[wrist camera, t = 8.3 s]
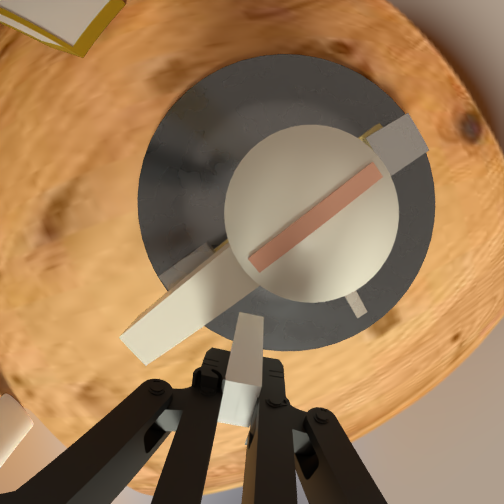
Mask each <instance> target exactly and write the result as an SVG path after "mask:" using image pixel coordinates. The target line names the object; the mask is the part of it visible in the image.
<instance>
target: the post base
mask: <svg viewBox="0 0 504 504" xmlns="http://www.w3.org/2000/svg"><path fill="white" fill-rule="evenodd" d="M379 123H380V124H381V125H382V128H381V129H379V130H377V131H376V132H374V133H372V134H371V135H369V136H367V137H366V138H364V139H363V142H364V143H365V144H366V145H368V146H369V147H370V148H371V149H372V150H373V151H374V152H375V153H376V154H377V155H378V157H379V158H380V159H381V160H382V162H383V163H384V165H385V166H386V168H387V170H388V172H389V173H390V176H391V178H392V180H393V183H394V186H395V189H396V193H397V198H398V205H399V222H398V230H397V234H396V238H395V242H394V244H393V247H392V250H391V252H390V254H389V256H388V258H387V260H386V261H385V262H384V264H383V265H382V267H381V268H380V270H379V271H378V272H377V273H376V274H375V275H374V276H373V277H372V278H371V279H370V280H369V281H368V282H367V283H366V284H364V285H363V286H362V287H360V288H359V289H357V290H356V291H354V292H352V293H350V294H348V295H346V296H343V297H340V298H338V299H334V300H330V301H326V302H316V303H309V302H298V301H292V300H289V299H285V298H282V297H280V296H277V295H275V294H273V293H271V292H269V291H268V290H266V289H264V288H263V287H261V286H259V287H257V288H256V289H255V290H253V291H252V292H250V293H249V294H248V295H246V296H245V297H244V298H242V299H241V300H240V301H238V302H237V303H235V304H234V305H233V306H231V307H230V308H228V309H227V310H226V311H224V312H223V313H221V314H220V315H219V316H217V317H216V318H214V319H213V320H212V321H210V322H209V323H207V324H206V325H204V326H205V327H207V328H208V329H210V330H212V331H213V332H215V333H217V334H219V335H221V336H223V337H225V338H227V339H230V340H232V341H233V339H234V334H235V330H236V325H237V321H238V316H239V312H242V313H247V314H252V315H257V316H262V317H264V324H263V349H265V350H274V351H302V350H309V349H316V348H321V347H324V346H328V345H332V344H335V343H338V342H340V341H343V340H345V339H347V338H350V337H352V336H354V335H356V334H358V333H360V332H361V331H363V330H365V329H366V328H368V327H370V326H371V325H372V324H374V323H375V322H376V321H378V320H379V319H380V318H382V317H383V316H384V315H385V314H386V313H387V312H388V311H389V310H390V309H391V308H393V307H394V306H395V305H396V304H397V302H398V301H399V300H400V299H401V298H402V296H403V295H404V294H405V293H406V291H407V290H408V289H409V287H410V285H411V284H412V282H413V281H414V279H415V277H416V276H417V274H418V272H419V270H420V268H421V266H422V263H423V261H424V259H425V257H426V254H427V250H428V247H429V244H430V241H431V236H432V231H433V225H434V217H435V192H434V182H433V177H432V172H431V167H430V163H429V160H428V157H427V154H426V152H427V151H429V149H428V147H427V145H426V143H425V141H424V139H423V138H422V136H421V134H420V132H419V131H418V129H417V127H416V125H415V124H414V122H413V120H412V119H411V117H410V115H409V114H408V113H407V114H405V113H404V112H403V111H402V110H401V109H400V107H399V106H398V105H397V104H396V103H395V102H394V101H393V100H392V98H391V97H389V96H388V95H387V94H386V93H385V92H384V91H383V90H382V89H380V88H379V87H378V86H377V85H376V84H374V83H373V82H371V81H370V80H368V79H367V78H365V77H364V76H362V75H360V74H359V73H357V72H355V71H353V70H351V69H349V68H346V67H344V66H342V65H340V64H337V63H334V62H331V61H328V60H324V59H321V58H316V57H310V56H304V55H291V54H277V55H267V56H259V57H255V58H250V59H246V60H242V61H239V62H237V63H234V64H231V65H229V66H226V67H224V68H221V69H220V70H218V71H216V72H214V73H212V74H211V75H209V76H207V77H205V78H204V79H202V80H201V81H200V82H198V83H197V84H196V85H194V86H193V87H192V88H191V89H189V90H188V91H187V92H186V93H185V94H184V95H183V96H182V97H181V98H180V99H179V100H178V101H177V102H176V103H175V104H174V105H173V106H172V108H171V109H170V110H169V112H168V113H167V114H166V116H165V117H164V118H163V120H162V121H161V123H160V124H159V126H158V128H157V130H156V132H155V133H154V135H153V137H152V139H151V141H150V144H149V146H148V149H147V152H146V154H145V157H144V160H143V165H142V169H141V173H140V178H139V188H138V217H139V224H140V229H141V235H142V239H143V242H144V245H145V249H146V252H147V255H148V257H149V260H150V262H151V264H152V266H153V268H154V270H155V272H156V274H157V276H158V277H159V279H160V280H161V282H162V284H163V285H164V287H165V288H166V290H167V291H169V290H170V289H171V288H173V287H174V286H175V285H176V284H178V283H179V282H180V281H181V280H182V279H184V278H185V277H186V276H187V275H188V274H190V273H191V272H192V271H193V270H195V269H196V268H197V267H198V266H199V265H201V264H202V263H203V262H204V261H206V260H207V259H208V258H209V257H211V256H212V255H213V254H214V253H215V252H216V251H215V250H214V249H215V248H216V247H217V246H219V245H220V244H221V243H222V242H224V241H225V240H226V239H227V233H226V229H225V220H224V207H225V199H226V193H227V190H228V186H229V183H230V180H231V178H232V176H233V174H234V172H235V170H236V168H237V167H238V165H239V163H240V162H241V160H242V159H243V158H244V157H245V156H246V154H247V153H248V152H249V151H250V150H251V149H252V148H253V147H254V146H255V145H257V144H258V143H259V142H260V141H262V140H263V139H265V138H266V137H268V136H270V135H272V134H274V133H276V132H278V131H280V130H283V129H286V128H290V127H294V126H300V125H323V126H329V127H333V128H337V129H340V130H342V131H345V132H347V133H350V134H351V135H353V136H355V137H357V138H358V137H360V136H361V135H362V134H364V133H365V132H366V131H368V130H369V129H371V128H372V127H373V126H375V125H377V124H379Z"/></svg>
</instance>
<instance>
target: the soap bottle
mask: <svg viewBox="0 0 504 504" xmlns="http://www.w3.org/2000/svg"><path fill="white" fill-rule="evenodd" d="M125 5H126V4H125V3H124V2H123V1H122V0H0V23H1V24H3V25H6V26H8V27H10V28H12V29H14V30H17V31H19V32H21V33H23V34H25V35H27V36H29V37H31V38H33V39H35V40H37V41H39V42H41V43H43V44H45V45H47V46H49V47H51V48H54V49H57V50H61V51H64V52H67V53H70V54H73V55H76V56H79V57H82V58H83V57H84V56H85V55H86V53H87V52H88V50H89V49H90V47H91V46H92V45H93V43H94V42H95V41H96V39H97V38H98V37H99V35H100V34H101V33H102V32H103V30H104V29H105V28H106V27H107V25H108V24H109V23H110V22H111V21H112V19H113V18H114V17H115V16H116V15H117V14H118V12H119V11H120V10H121V9H122V8H123V7H124V6H125Z"/></svg>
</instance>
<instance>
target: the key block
mask: <svg viewBox="0 0 504 504" xmlns="http://www.w3.org/2000/svg"><path fill="white" fill-rule="evenodd" d="M381 128H382V125H381V124H380V123H379V124H377V125H375V126H373V127H372V128H371V129H369V130H368V131H366V132H365V133H364V134H362V135H361V136H360V137H358V138H357V137H355V136H353V135H351V134H350V133H347V132H345V131H342V130H340V129H337V128H333V127H329V126H323V125H300V126H294V127H290V128H286V129H283V130H280V131H278V132H276V133H274V134H272V135H270V136H268V137H266V138H265V139H263V140H262V141H260V142H259V143H258V144H257V145H255V146H254V147H253V148H252V149H251V150H250V151H249V152H248V153H247V154H246V156H245V157H244V158H243V159H242V160H241V162H240V163H239V165H238V167H237V168H236V170H235V172H234V174H233V176H232V178H231V180H230V183H229V186H228V190H227V193H226V199H225V207H224V220H225V229H226V233H227V239H226V240H225V241H224V242H222V243H221V244H220V245H219V246H217V247H216V248H215V249H214V250H215V251H216V252H215V253H214V254H213V255H212V256H211V257H209V258H208V259H207V260H206V261H204V262H203V263H202V264H201V265H199V266H198V267H197V268H196V269H195V270H193V271H192V272H191V273H190V274H188V275H187V276H186V277H185V278H184V279H182V280H181V281H180V282H179V283H178V284H176V285H175V286H174V287H173V288H171V289H170V290H169V291H168V292H167V293H165V294H164V295H163V296H162V297H161V298H159V299H158V300H157V301H156V302H155V303H154V304H152V305H151V306H150V307H149V308H148V309H146V310H145V311H144V312H143V313H142V314H140V315H139V316H138V317H137V318H136V319H135V320H134V321H133V322H132V324H131V325H130V326H129V327H128V328H127V329H126V330H125V331H124V332H123V333H122V334H121V336H120V337H119V338H120V339H121V340H122V342H123V343H124V344H125V345H126V346H127V347H128V348H129V349H130V350H131V351H132V352H133V353H134V354H135V355H136V356H137V357H138V358H139V359H140V360H141V361H142V362H143V363H144V364H145V365H148V364H149V363H151V362H152V361H154V360H155V359H157V358H158V357H160V356H161V355H163V354H164V353H165V352H167V351H168V350H170V349H171V348H173V347H174V346H176V345H177V344H179V343H180V342H182V341H183V340H184V339H186V338H187V337H189V336H190V335H192V334H193V333H195V332H196V331H197V330H199V329H200V328H202V327H203V326H204V325H206V324H207V323H209V322H210V321H212V320H213V319H214V318H216V317H217V316H219V315H220V314H221V313H223V312H224V311H226V310H227V309H228V308H230V307H231V306H233V305H234V304H235V303H237V302H238V301H240V300H241V299H242V298H244V297H245V296H246V295H248V294H249V293H250V292H252V291H253V290H255V289H256V288H257V287H259V286H261V287H263V288H264V289H266V290H268V291H269V292H271V293H273V294H275V295H277V296H280V297H282V298H285V299H289V300H292V301H298V302H309V303H316V302H326V301H330V300H334V299H338V298H340V297H343V296H346V295H348V294H350V293H352V292H354V291H356V290H357V289H359V288H360V287H362V286H363V285H364V284H366V283H367V282H368V281H369V280H370V279H371V278H372V277H373V276H374V275H375V274H376V273H377V272H378V271H379V270H380V268H381V267H382V265H383V264H384V262H385V261H386V260H387V258H388V256H389V254H390V252H391V250H392V247H393V244H394V242H395V238H396V234H397V230H398V222H399V205H398V198H397V193H396V189H395V186H394V183H393V180H392V178H391V176H390V173H389V172H388V170H387V168H386V166H385V165H384V163H383V162H382V160H381V159H380V158H379V157H378V155H377V154H376V153H375V152H374V151H373V150H372V149H371V148H370V147H369V146H368V145H366V144H365V143H364V142H363V139H364V138H366V137H367V136H369V135H371V134H372V133H374V132H376V131H377V130H379V129H381Z"/></svg>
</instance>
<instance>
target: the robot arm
mask: <svg viewBox="0 0 504 504" xmlns="http://www.w3.org/2000/svg"><path fill="white" fill-rule="evenodd" d="M263 324H264V317H262V316H257V315H252V314H247V313H242V312H239V316H238V321H237V325H236V330H235V334H234V339H233V344H232V348H231V351H226V350H221V349H216V348H211V349H210V350H208V351H207V352H206V355H205V358H204V360H203V363H202V366H201V367H199V368H197V369H196V370H195V371H194V372H193V380H192V386H191V387H189V388H185V389H172V387H171V385H170V384H169V383H167V382H166V381H163V380H160V379H150V380H147V381H145V382H143V383H142V384H141V385H140V386H139V387H138V388H137V389H136V390H135V391H133V392H132V393H131V394H130V395H129V396H128V397H127V398H125V399H124V400H123V401H122V402H121V403H120V404H119V405H118V406H116V407H115V408H114V409H113V410H112V411H111V412H110V413H108V414H107V415H106V416H105V417H104V418H103V419H102V420H100V421H99V422H98V423H97V424H96V425H95V426H93V427H92V428H91V429H90V430H89V431H88V432H86V433H85V434H84V435H83V436H82V437H81V438H79V439H78V440H77V441H76V442H75V443H74V444H72V445H71V446H70V447H69V448H68V449H66V450H65V451H64V452H63V453H62V454H60V455H59V456H58V457H57V458H56V459H55V460H53V461H52V462H51V463H50V464H48V465H47V466H46V467H45V468H43V469H42V470H41V471H40V472H38V473H37V474H36V475H35V476H34V477H32V478H31V479H30V480H29V481H27V482H26V483H25V484H24V485H22V486H21V487H20V488H19V489H17V490H16V491H13V492H8V493H3V494H0V504H111V503H112V501H113V500H114V499H115V498H116V497H117V496H118V495H119V494H120V492H121V491H122V490H123V489H124V488H125V487H126V486H127V484H128V483H129V482H130V481H131V480H132V479H133V477H134V476H135V475H136V474H137V473H138V472H139V470H140V469H141V468H142V467H143V466H144V464H145V463H146V462H147V461H148V460H149V458H150V457H151V456H152V455H153V454H154V452H155V451H156V450H157V449H158V448H159V446H160V445H161V444H162V443H163V441H164V440H165V439H166V438H167V436H168V435H169V434H170V432H171V431H176V433H175V435H174V438H173V441H172V444H171V447H170V450H169V453H168V455H167V458H166V461H165V464H164V467H163V470H162V473H161V476H160V478H159V481H158V484H157V487H156V490H155V493H154V496H153V499H152V502H151V504H201V500H202V495H203V490H204V485H205V480H206V475H207V470H208V465H209V461H210V456H211V451H212V446H213V441H214V436H215V431H216V426H217V422H221V423H227V424H232V425H238V426H244V427H249V426H250V431H249V434H248V437H247V440H246V443H245V445H247V451H246V462H245V472H244V483H243V495H242V503H241V504H297V488H296V473H295V469H296V472H297V474H298V477H299V480H300V482H301V484H302V487H303V490H304V492H305V495H306V497H307V500H308V502H309V504H387V502H386V500H385V499H384V497H383V495H382V494H381V492H380V490H379V489H378V487H377V485H376V484H375V482H374V480H373V479H372V477H371V475H370V474H369V472H368V471H367V469H366V467H365V465H364V464H363V462H362V460H361V459H360V457H359V455H358V454H357V452H356V450H355V449H354V447H353V445H352V444H351V442H350V440H349V439H348V437H347V435H346V433H345V432H344V430H343V428H342V427H341V425H340V423H339V422H338V420H337V418H336V416H335V415H334V414H333V413H332V412H331V411H329V410H328V409H325V408H318V407H316V408H312V409H310V410H309V411H308V412H305V411H302V410H299V409H296V408H294V407H293V406H291V405H290V402H289V400H288V399H287V398H286V394H285V381H284V369H283V365H282V363H281V362H280V360H279V359H272V358H266V357H263ZM250 423H251V424H250Z"/></svg>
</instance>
